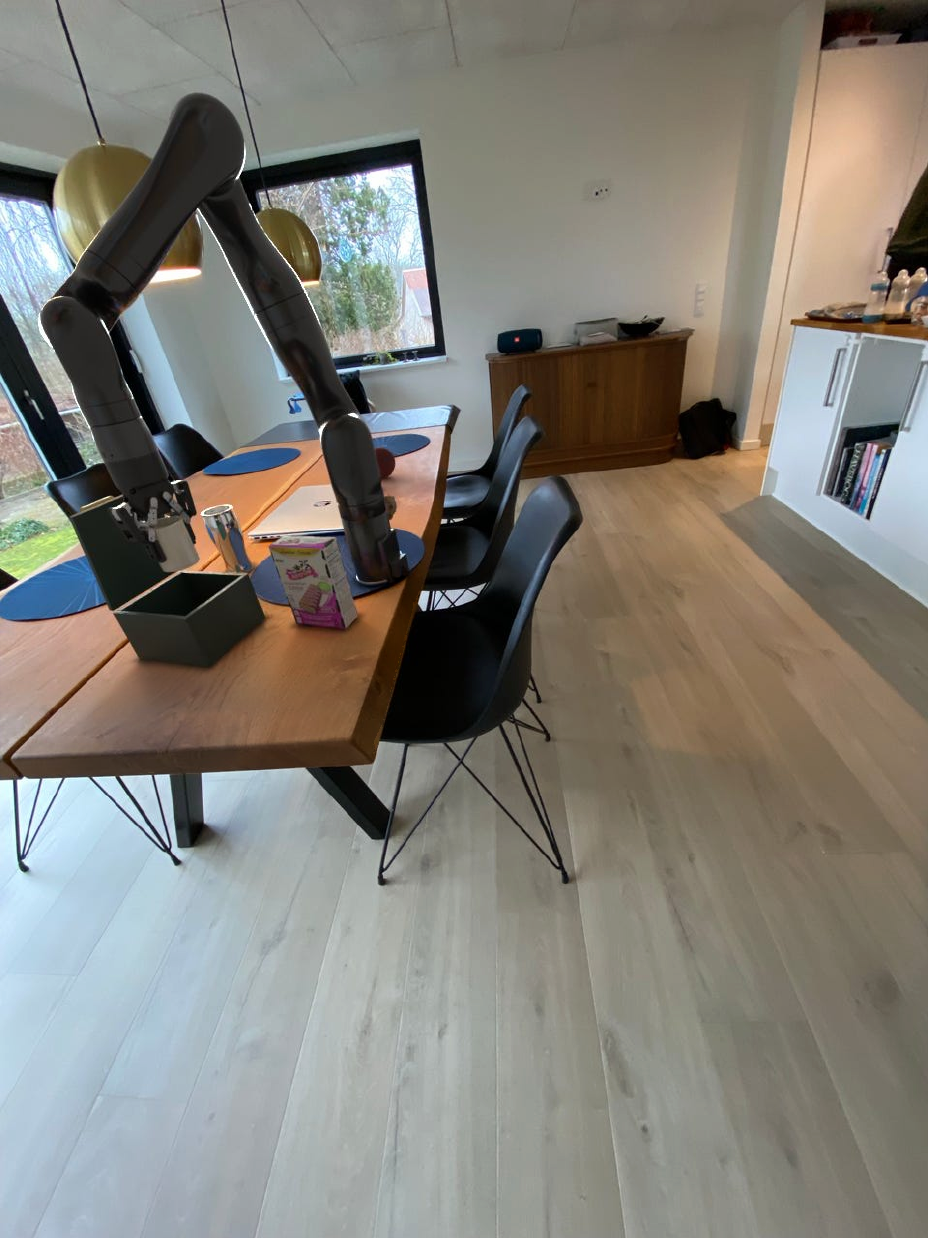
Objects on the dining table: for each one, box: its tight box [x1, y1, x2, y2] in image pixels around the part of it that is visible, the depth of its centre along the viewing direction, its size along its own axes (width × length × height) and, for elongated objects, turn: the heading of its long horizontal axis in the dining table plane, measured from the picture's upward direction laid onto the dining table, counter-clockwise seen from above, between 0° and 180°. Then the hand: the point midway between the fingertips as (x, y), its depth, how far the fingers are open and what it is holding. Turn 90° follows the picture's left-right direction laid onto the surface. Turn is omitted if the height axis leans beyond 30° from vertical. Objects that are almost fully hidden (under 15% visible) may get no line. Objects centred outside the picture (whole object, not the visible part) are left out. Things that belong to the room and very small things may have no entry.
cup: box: [145, 516, 200, 573], centre depth 85 cm, size 6×6×8 cm
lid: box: [68, 493, 178, 612], centre depth 89 cm, size 17×16×6 cm
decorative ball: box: [374, 446, 396, 479], centre depth 170 cm, size 10×10×10 cm
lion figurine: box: [344, 494, 398, 540], centre depth 127 cm, size 15×5×9 cm, turn 110°
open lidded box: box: [112, 570, 267, 669], centre depth 93 cm, size 16×16×10 cm
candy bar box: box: [267, 534, 359, 630], centre depth 91 cm, size 11×5×16 cm, turn 71°
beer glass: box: [200, 504, 255, 573], centre depth 117 cm, size 7×7×15 cm
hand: (176, 552), depth 86 cm, fingers closed on cup, 6 cm apart
